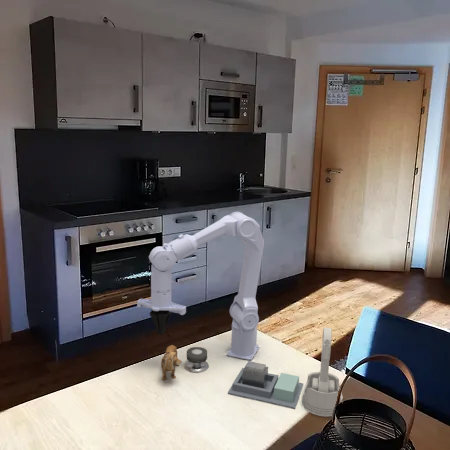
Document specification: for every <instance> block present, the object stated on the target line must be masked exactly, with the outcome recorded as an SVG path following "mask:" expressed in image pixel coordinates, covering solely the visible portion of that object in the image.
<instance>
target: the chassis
mask: <svg viewBox="0 0 450 450" xmlns="http://www.w3.org/2000/svg"><path fill="white" fill-rule="evenodd" d="M243 369H244V367H242V368H241V369H240V371H239V372H238V374H237V376H236V378H235V379H234V381H233V382H232V384H231V386H230V388H229V390H228V391H227V394H228V395H231V396H235V397H238V398H239V397H240V398H243V399H244V398H245V399H249V400H254V401H258V402H262V403H267V404H271V405H275V406H278V407H285V408H287V409H288V408H289V409H292V410H295V409H296V408H297V404H298V402H299V398H300V395H301V392H302V391H303V388H304V383H303V382H299V381H300V376H299V375H294V374H288V373H284V372H281V373H280V374H274V373H269V372H268V381H267V386H266V388H265V389H263V388H258V387H254V386H249V385H244V384H242V375H243Z"/></svg>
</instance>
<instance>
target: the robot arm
mask: <svg viewBox="0 0 450 450" xmlns="http://www.w3.org/2000/svg"><path fill="white" fill-rule="evenodd" d="M221 236H228V237H234V238H235V237H236V236H238V237H239V238H240V240H242V242H243V243H244V244H245V249H244V256H243V262H242V268H241V275H240V279H239V286H238V292H237V294H236V295H235V296H234V299H233V302H232V303H231V305H230V308H229V314H230V317H231V318H232V323H231V339H230V340H231V343H230V344H231V346H230V348H229V350H228V351H227V352H226V356H228V357H231V358H232V357H233V358H238V359H243V360H247V361H252V360H253V358H254V356H255V355H256V353H257V352H258V350H259V348H260V345H257V341H258V340H257V335H258V325H259V322H260V316H259V314H258V310H259V307H258V302H257V300H256V299H257V298H256V295H257V289H258V284H259V278H260V271H261V266H262V261H263V254H264V246H265V240H264V237H263V234H262V231H261V225H260V224H259V223H258V222H257V221H256V220H255V219H254V218H253V217H249V216H248V215H245V214H244V213H243V212H241V211H233V212H231V213H230V214H227V215H225V216H223V217H222V218H220V219H219V220H217V221H215V222H213V223H212V224H210V225H209V226H207V227H205V228H203V229H202V230H200V231H198V232H195V233H194V234H193V235H192V234H191V235H190V234H188V233H187V234H186V233H185V234H182V233H181V234H179V235H178V237H177V238H176V239H174V240H172V241H170V242H168V243H167V242H165V243H163V244H162V245H163V246H156V247H154V248H153V249H152V250H151V251H150V253H149V255H148V259H149V262H150V263H151V268H150V269H151V274H150V298H149V299H148V298H147V299H146V298H139V299H138V300H137V301H136V307H137V308H147V309H151V311H150V312H149V316H150V318H151V319H152V322H153V323H154V326H155V329H156V332H157V335H159V336H163V335H165V333H166V328H167V325H168V323H169V320H170V318H171V315H172V314H173V313H175V314H179V315H181V316H184V315H185V314H186V313H187V306H185V305H183V304H179V303H176V302H173V301H172V268H173V266H174V264H175V263H177V262H179V261H181V260H183V259H185V258H186V257H189V256H191V255H192V254H195V253H196V252H197V249H198V247H199V246H202V245H203V244H206V243H207V242H210V241H212V240H215V239H217V238H219V237H221Z"/></svg>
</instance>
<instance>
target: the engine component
mask: <svg viewBox="0 0 450 450" xmlns="http://www.w3.org/2000/svg"><path fill="white" fill-rule="evenodd" d="M332 333H333V332H332V327H325V326H324V327H323V329H322V340H321V341H322V342H321V357H320V359H321V361H320V371H312V372H310V373H309V374H308V375H307V380H306V382H305V385H304V386H303V388H302V398H301V405H302V406H303V408H304V409H305V410H306V411H308V412H309V414H310V413H311V414H313V415H315V416H319V417H333V416H332V413H333V410H334V407H335V404H336V401H337V396H338V391H339V389H340V390H341V387H340V380H339V377H338V376H337V375H335V374H333V373H329V369H330V368H329V367H330V358H331V351H332V349H331V348H332V347H331V346H332ZM343 399H344V398H343V393H342V392H341V396H340V402H342V403H343Z"/></svg>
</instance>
